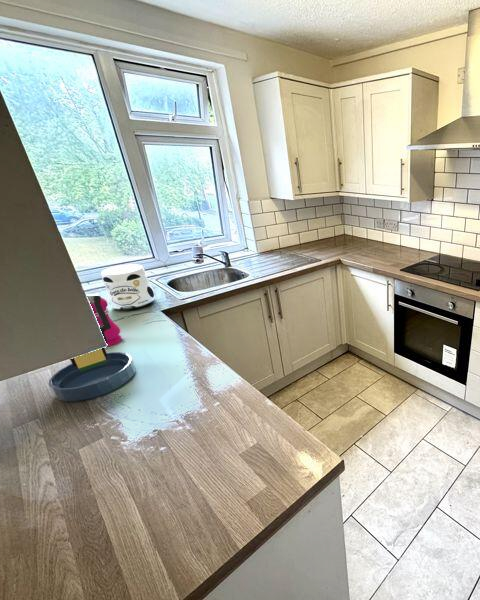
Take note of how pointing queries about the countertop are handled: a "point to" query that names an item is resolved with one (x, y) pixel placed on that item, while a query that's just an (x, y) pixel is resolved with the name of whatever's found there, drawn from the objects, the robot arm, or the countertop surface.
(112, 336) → the pepper mill
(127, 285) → the milk container
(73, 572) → the countertop surface
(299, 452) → the countertop surface
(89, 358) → the sponge
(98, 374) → the bowl
